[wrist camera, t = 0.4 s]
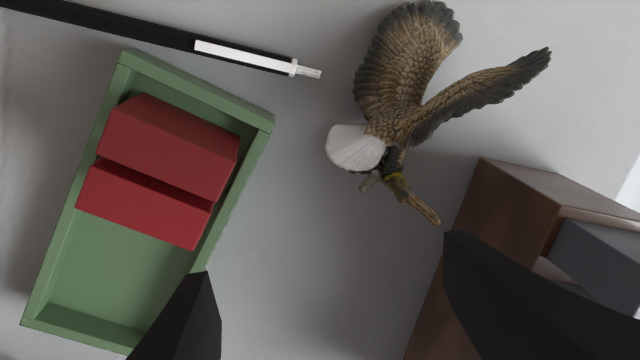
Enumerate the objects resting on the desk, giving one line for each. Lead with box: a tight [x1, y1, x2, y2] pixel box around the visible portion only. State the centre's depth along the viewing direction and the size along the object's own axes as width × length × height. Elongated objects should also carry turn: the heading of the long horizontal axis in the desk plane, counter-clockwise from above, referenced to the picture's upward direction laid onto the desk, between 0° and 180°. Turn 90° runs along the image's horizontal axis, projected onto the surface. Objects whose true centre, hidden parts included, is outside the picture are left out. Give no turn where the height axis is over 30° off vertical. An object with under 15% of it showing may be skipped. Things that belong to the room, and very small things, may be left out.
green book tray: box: [20, 48, 275, 356], centre depth 22 cm, size 15×7×2 cm, turn 152°
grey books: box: [547, 218, 640, 320], centre depth 17 cm, size 8×5×4 cm, turn 166°
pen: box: [0, 0, 321, 78], centre depth 19 cm, size 1×19×1 cm, turn 76°
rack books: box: [75, 92, 240, 251], centre depth 19 cm, size 4×5×4 cm
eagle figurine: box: [325, 0, 552, 227], centre depth 19 cm, size 8×7×9 cm
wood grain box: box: [402, 157, 640, 360], centre depth 24 cm, size 16×6×7 cm, turn 166°
